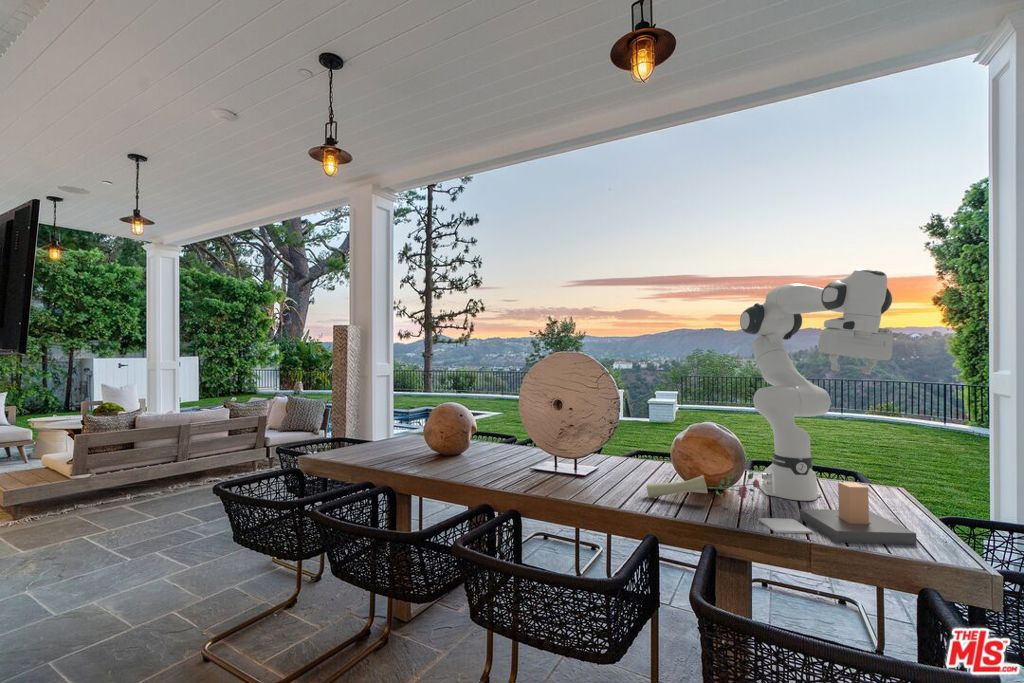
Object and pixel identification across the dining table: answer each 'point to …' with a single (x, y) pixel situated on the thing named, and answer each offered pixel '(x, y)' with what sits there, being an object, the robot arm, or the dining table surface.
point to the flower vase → (695, 487)
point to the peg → (853, 503)
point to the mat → (784, 525)
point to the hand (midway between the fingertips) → (850, 372)
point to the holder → (857, 528)
